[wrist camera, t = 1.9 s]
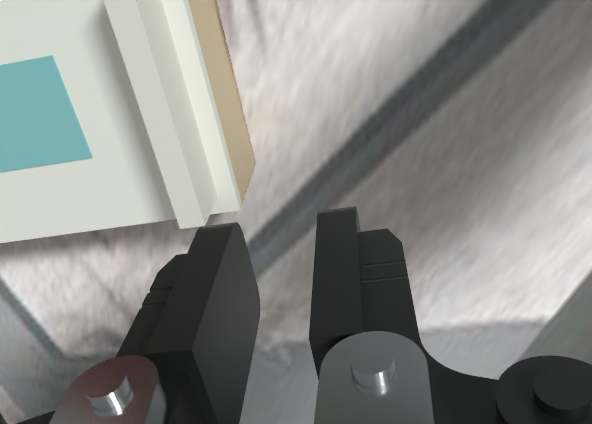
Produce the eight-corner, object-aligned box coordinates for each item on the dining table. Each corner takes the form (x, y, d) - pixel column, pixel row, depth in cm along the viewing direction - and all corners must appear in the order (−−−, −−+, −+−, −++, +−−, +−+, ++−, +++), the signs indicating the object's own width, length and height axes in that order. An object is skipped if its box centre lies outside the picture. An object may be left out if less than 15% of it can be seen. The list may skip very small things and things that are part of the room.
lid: (167, -75, 22) (138, -73, 19) (242, 204, 28) (229, 241, 25) (-206, 7, 25) (-287, 22, 22) (-65, 246, 31) (-112, 285, 28)
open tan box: (197, -78, 27) (168, -76, 22) (255, 163, 33) (242, 203, 28) (-121, -8, 30) (-205, 7, 25) (-13, 203, 36) (-65, 245, 31)
